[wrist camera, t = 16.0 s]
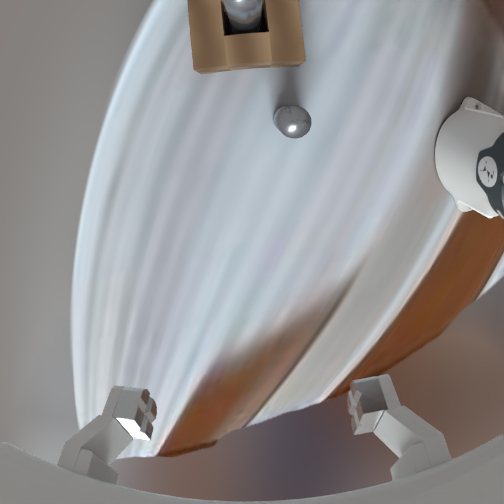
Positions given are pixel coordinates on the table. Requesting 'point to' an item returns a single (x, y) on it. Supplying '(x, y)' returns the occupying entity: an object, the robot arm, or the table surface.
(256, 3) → the long pin
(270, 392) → the table surface
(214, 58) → the hole block
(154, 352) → the table surface
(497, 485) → the robot arm
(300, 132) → the short pin
